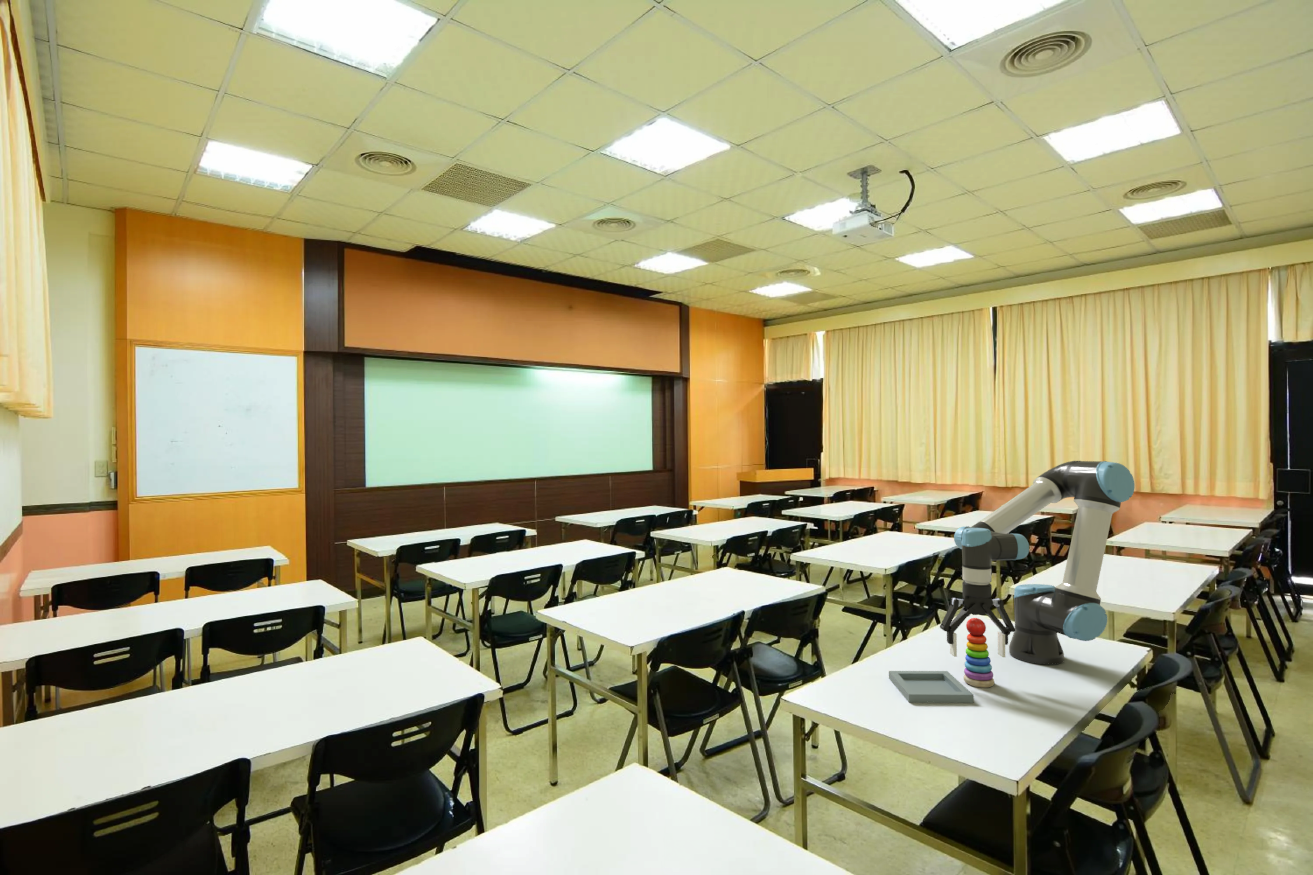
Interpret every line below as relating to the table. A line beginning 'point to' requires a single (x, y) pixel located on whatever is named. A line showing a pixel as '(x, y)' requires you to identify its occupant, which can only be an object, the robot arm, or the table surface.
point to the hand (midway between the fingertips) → (977, 655)
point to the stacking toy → (977, 656)
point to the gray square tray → (930, 687)
